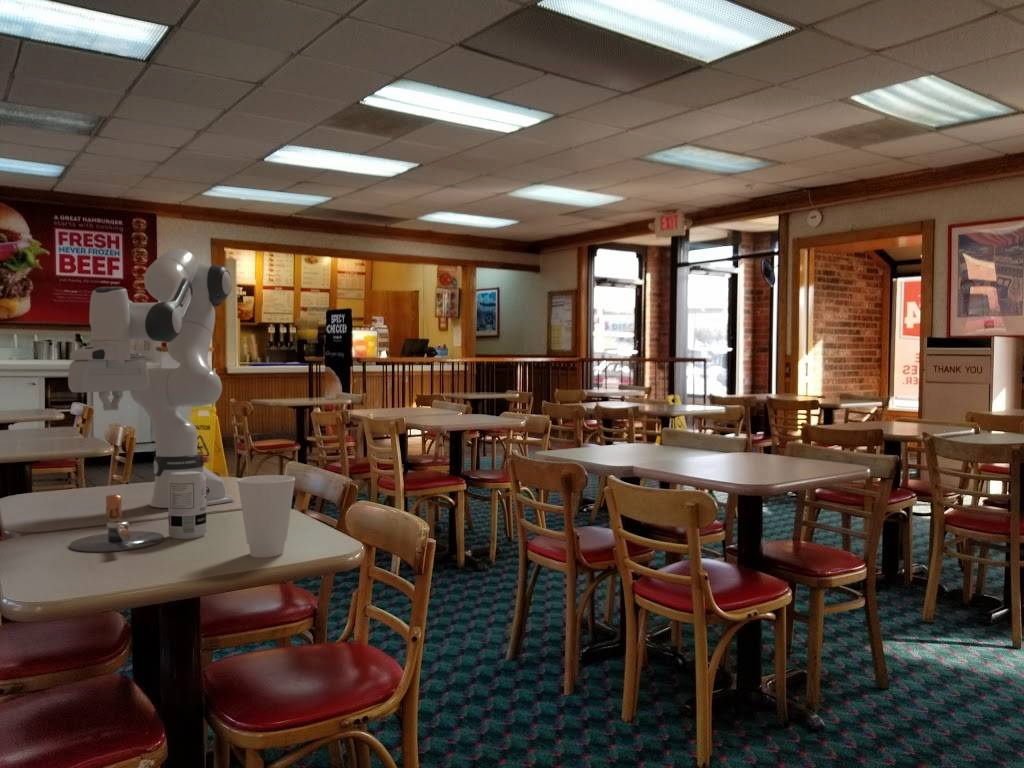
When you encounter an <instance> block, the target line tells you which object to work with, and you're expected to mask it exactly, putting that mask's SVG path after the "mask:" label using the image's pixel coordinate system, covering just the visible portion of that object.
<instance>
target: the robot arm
mask: <svg viewBox="0 0 1024 768" xmlns="http://www.w3.org/2000/svg"><path fill="white" fill-rule="evenodd" d="M143 283H144V286H145V288H146V291H147V292H148V293H149V295H150V296H151V297H153V298H154V299H155V300H156V301H159V302H133V301H132V300H131V299H129V295H128V290H127V289H126V288H125V287H124V286H117V285H116V286H100V287H96V288H95V289H94V290H92V292H91V294H90V300H89V301H90V302H89V321H88V322H89V325H90V329H91V332H90V336H89V345H87V346H84V347H81V348H78V349H75V350H74V349H73V350H72V351H70V352H69V358H70V360H71V361H72V362H71V363H70V364H69V367H68V375H67V376H68V377H67V382H68V383H67V385H68V388H69V390H70V392H72V393H98V397H99V399H100V401H101V403H102V405H103V406H102V409H103V411H107V412H109V411H118V410H119V406H120V405H119V404H120V402H121V399H122V398H123V396H124V393H123V392H126V391H127V392H128V391H129V394H130V396H131V398H132V400H133V401H134V402H135V403H136V404H138V405H139V406H140V407H141V408H143V410H145V412H146V414H148V417H149V418H150V421H151V423H152V426H153V431H154V441H155V456H154V459H153V474H154V486H153V493H152V497H151V501H150V504H149V506H150V507H152V508H153V507H154V508H158V509H159V508H160V509H162V508H163V509H168V479H169V478H170V476H171V473H172V472H177V471H203V474H204V475H205V477H206V506H210V505H211V506H212V505H219V504H225V503H232V502H234V501H235V498H234V496H233V495H231V494H227V491H226V485H225V482H224V479H222V478H221V477H220V476H218V475H217V474H216V473H214V472H213V471H211V470H210V469H208V468H207V467H206V466H205V464H208V463H210V461H211V458H210V456H209V455H201V454H199V453H198V430H197V427H196V426H195V424H194V423H193V422H191V421H190V420H188V419H186V418H184V417H183V416H182V414H181V413H180V410H179V407H180V408H181V407H183V408H184V407H186V408H187V407H189V408H194V407H195V408H198V407H205V406H208V405H209V406H210V405H213V404H215V403H216V402H217V401H218V400H219V398H220V397H221V395H222V393H223V385H222V384H223V383H222V381H221V377H220V376H219V375H218V374H217V373H216V371H214V370H213V369H212V368H211V367H210V365H209V362H208V361H209V360H208V354H209V349H210V346H211V341H212V337H213V334H214V330H215V325H216V324H215V323H216V309H215V308H218V307H219V306H221V304H222V303H223V302H224V301H225V300H226V299H227V298H228V296H229V295H230V293H231V290H232V283H233V282H232V276H231V273H230V272H229V270H228V269H227V268H226V267H225V266H223V265H222V266H221V265H219V264H204V263H198V261H197V258H196V257H195V255H194V254H193V253H192V252H190V251H189V250H188V249H185V248H180V247H179V248H172V249H170V250H168V251H166V252H164V253H163V254H161V255H160V256H158V257H157V259H155V260H154V261H153V262H152V263H151V264H150V265H149V266H148V267H147V268H146V271H145V273H144V276H143ZM131 341H135V342H136V341H137V342H138V341H139V342H140V341H141V342H143V341H144V342H145V341H146V342H148V341H149V342H150V341H151V342H152V341H154V342H160V343H161V342H163V343H167V351H168V354H169V357H170V358H171V359H172V360H174V361H175V362H176V363H178V364H179V366H177V367H176V368H158V367H157V368H155V367H154V368H150V369H148V365H147V358H146V357H145V356H144V355H142V354H141V353H131ZM110 392H111V393H110ZM110 394H111V395H110ZM110 396H113V397H112V399H111V400H110V398H109V397H110Z"/></svg>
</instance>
